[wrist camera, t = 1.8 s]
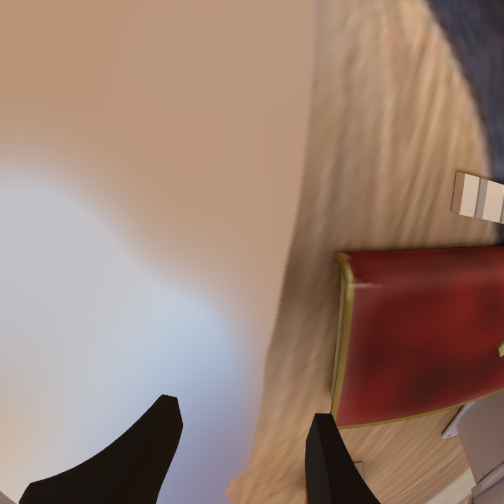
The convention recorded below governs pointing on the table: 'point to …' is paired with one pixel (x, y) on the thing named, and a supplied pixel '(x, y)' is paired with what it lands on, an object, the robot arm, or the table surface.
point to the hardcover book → (417, 333)
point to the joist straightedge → (478, 198)
